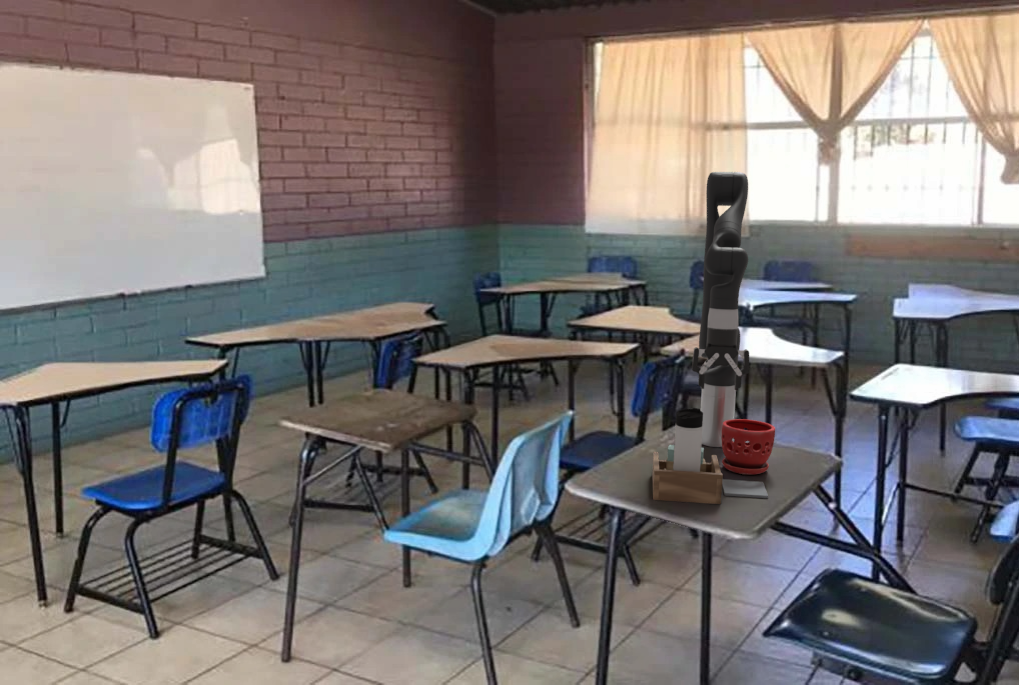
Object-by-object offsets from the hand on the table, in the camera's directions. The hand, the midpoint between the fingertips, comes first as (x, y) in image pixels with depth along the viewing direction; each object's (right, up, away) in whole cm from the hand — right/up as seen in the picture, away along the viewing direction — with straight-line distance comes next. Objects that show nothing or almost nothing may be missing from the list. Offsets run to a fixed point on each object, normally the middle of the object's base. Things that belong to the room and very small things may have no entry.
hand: (719, 389), depth 246 cm
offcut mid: (-11, -20, -12) cm, 25 cm away
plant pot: (+7, -21, 0) cm, 22 cm away
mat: (+3, -23, -16) cm, 28 cm away
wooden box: (-12, -23, -16) cm, 30 cm away
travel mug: (-12, -24, -18) cm, 32 cm away
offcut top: (-11, -17, -12) cm, 23 cm away
